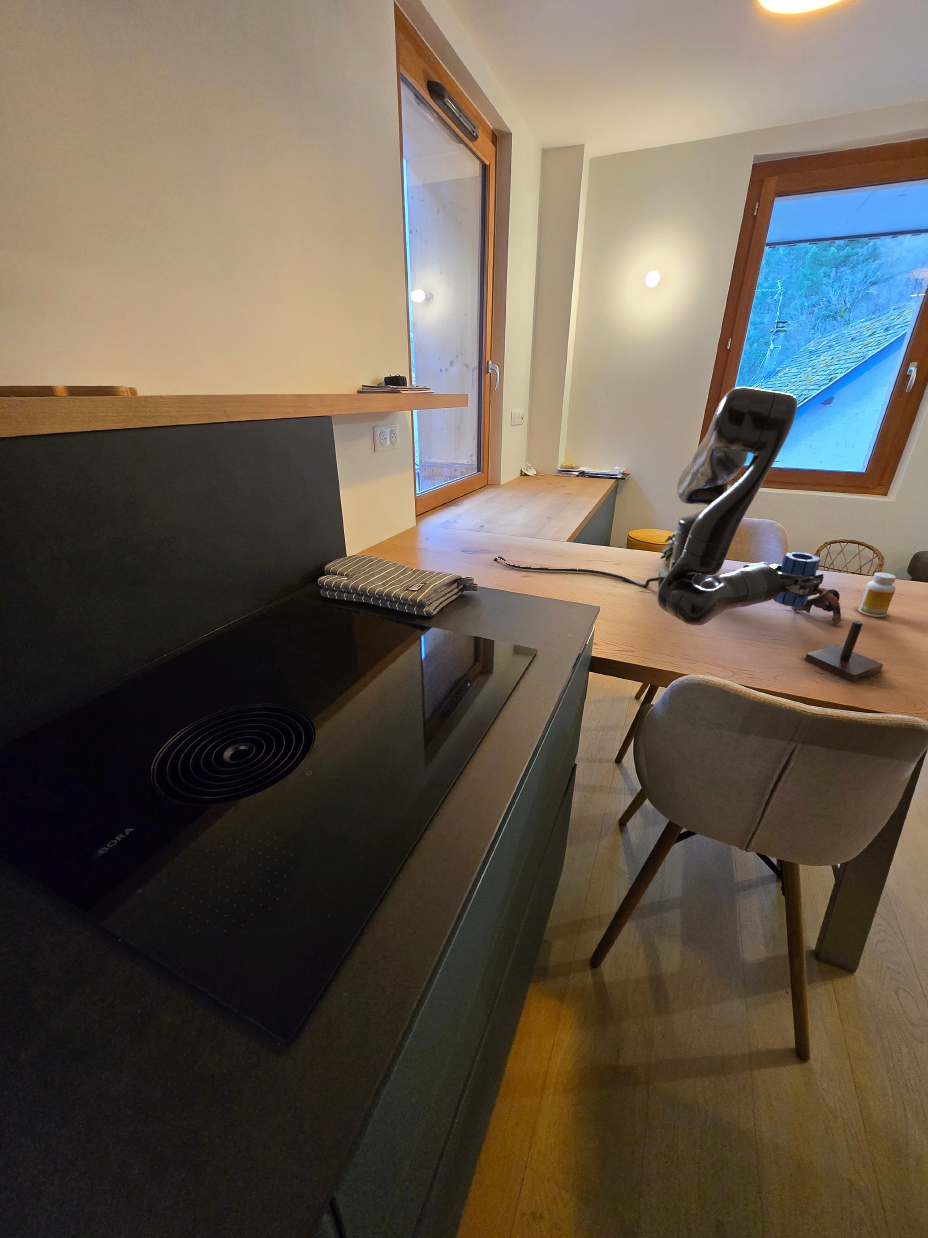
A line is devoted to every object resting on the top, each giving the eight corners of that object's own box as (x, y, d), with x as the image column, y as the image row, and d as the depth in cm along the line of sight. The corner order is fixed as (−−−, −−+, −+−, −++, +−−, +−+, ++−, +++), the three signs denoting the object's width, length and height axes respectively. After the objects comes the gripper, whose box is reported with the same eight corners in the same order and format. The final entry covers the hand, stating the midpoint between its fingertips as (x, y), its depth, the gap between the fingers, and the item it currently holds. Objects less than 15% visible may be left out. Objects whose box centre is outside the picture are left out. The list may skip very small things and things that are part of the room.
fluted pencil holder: (776, 605, 103) (789, 560, 99) (769, 594, 109) (782, 550, 104) (809, 608, 102) (824, 562, 97) (801, 597, 107) (814, 553, 102)
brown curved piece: (833, 633, 111) (820, 601, 110) (791, 634, 119) (778, 604, 118) (859, 607, 115) (847, 576, 114) (816, 610, 124) (804, 582, 123)
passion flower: (664, 577, 158) (672, 542, 159) (700, 578, 150) (708, 542, 152) (651, 565, 149) (660, 528, 151) (688, 566, 142) (697, 527, 143)
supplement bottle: (890, 618, 116) (905, 579, 112) (864, 616, 117) (878, 578, 113) (877, 609, 121) (892, 571, 117) (853, 607, 122) (866, 570, 118)
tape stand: (851, 681, 92) (868, 637, 88) (804, 660, 100) (818, 617, 96) (880, 671, 95) (898, 627, 91) (833, 650, 103) (847, 609, 99)
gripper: (787, 580, 90) (846, 566, 96) (721, 557, 102) (777, 546, 108) (777, 617, 93) (833, 601, 99) (714, 591, 105) (768, 578, 111)
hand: (804, 572), depth 103 cm, fingers closed on fluted pencil holder, 6 cm apart
